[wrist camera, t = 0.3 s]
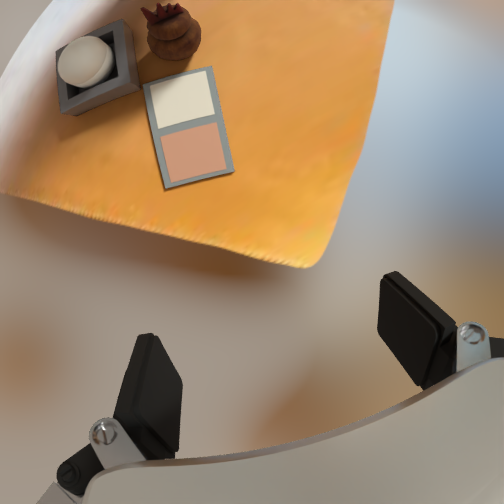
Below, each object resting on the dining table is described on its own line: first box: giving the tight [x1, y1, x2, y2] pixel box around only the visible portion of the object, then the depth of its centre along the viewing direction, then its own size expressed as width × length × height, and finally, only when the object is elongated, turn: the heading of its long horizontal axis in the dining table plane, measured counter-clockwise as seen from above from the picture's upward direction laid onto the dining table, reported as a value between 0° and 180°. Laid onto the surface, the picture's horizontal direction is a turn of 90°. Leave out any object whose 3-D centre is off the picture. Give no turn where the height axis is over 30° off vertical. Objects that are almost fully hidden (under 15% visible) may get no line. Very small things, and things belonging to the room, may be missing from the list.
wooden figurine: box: [141, 3, 201, 60], centre depth 22 cm, size 7×6×15 cm
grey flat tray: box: [143, 66, 234, 188], centre depth 33 cm, size 16×10×1 cm, turn 11°
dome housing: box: [56, 19, 141, 116], centre depth 26 cm, size 11×11×5 cm
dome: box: [58, 36, 116, 89], centre depth 22 cm, size 7×7×7 cm
